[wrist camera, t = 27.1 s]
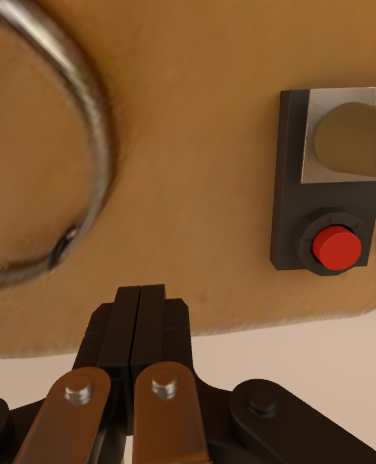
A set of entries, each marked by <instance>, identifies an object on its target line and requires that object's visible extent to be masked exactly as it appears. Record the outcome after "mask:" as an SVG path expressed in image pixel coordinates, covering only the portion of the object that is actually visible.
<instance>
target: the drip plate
mask: <svg viewBox="0 0 376 464" xmlns="http://www.w3.org/2000/svg"><path fill="white" fill-rule="evenodd" d="M349 102H359V103H365V104H368V105H372V106H375V107H376V87H361V88H327V89H309V96H308V107H307V117H306V128H305V139H304V149H303V160H302V170H301V181H300V183H301V184H305V183H330V182H356V181H376V177H369V176H362V175H355V174H347V173H340V172H334V171H331V170H329V169H328V168H326V167H324V166H323V165H322V163H321V162H320V161H319V160H318V158H317V155H316V152H315V145H314V138H315V135H316V131H317V128H318V126H319V124H320V123H321V121H322V119H323V118H324V117H325V116H326V115H327V114H328V113H329V112H330V111H331V110H332V109H334V108H336V107H337V106H339V105H341V104H343V103H349Z"/></svg>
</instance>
